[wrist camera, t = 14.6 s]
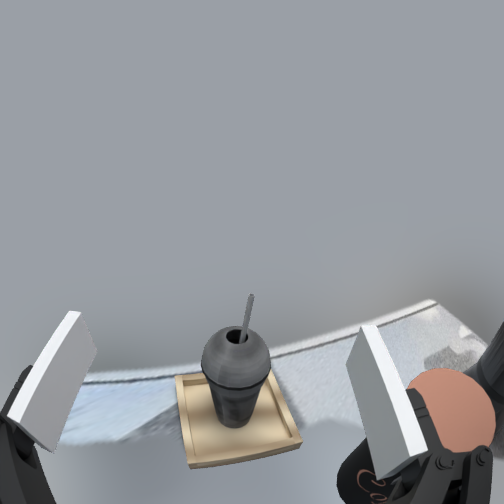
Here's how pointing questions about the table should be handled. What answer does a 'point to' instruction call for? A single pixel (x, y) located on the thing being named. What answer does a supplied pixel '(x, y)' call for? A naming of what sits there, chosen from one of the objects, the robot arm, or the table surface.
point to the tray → (230, 439)
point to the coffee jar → (446, 423)
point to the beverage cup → (236, 370)
